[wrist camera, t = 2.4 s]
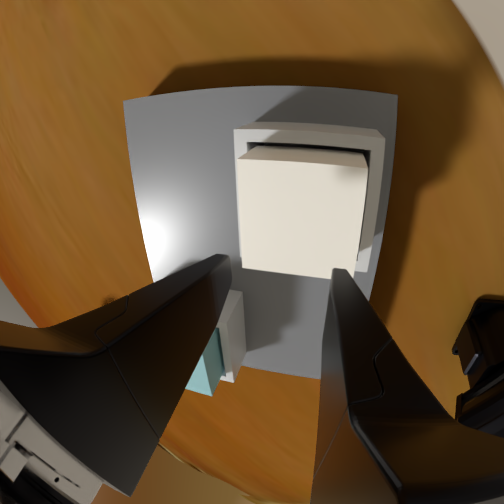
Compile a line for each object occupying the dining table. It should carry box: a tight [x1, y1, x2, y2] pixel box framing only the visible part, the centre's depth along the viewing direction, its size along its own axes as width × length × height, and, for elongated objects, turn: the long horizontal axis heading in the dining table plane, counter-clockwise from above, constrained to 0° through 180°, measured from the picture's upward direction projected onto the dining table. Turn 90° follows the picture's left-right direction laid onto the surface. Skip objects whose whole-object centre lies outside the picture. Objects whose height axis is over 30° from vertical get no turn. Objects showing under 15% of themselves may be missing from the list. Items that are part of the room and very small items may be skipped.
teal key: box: [185, 327, 225, 396], centre depth 21 cm, size 5×5×3 cm
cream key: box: [237, 146, 368, 279], centre depth 13 cm, size 5×5×3 cm
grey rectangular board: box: [123, 86, 398, 383], centre depth 21 cm, size 17×23×6 cm
